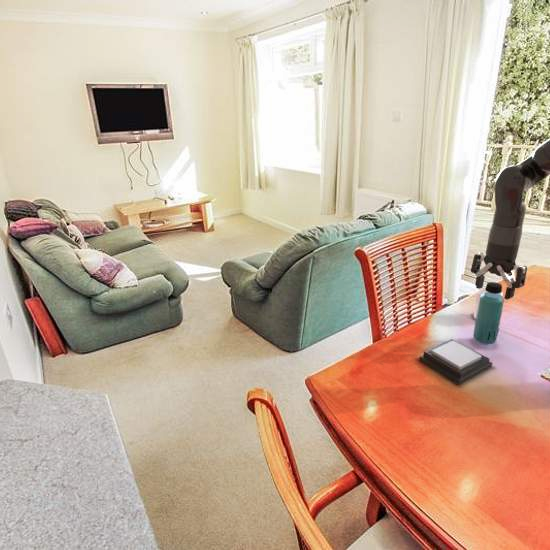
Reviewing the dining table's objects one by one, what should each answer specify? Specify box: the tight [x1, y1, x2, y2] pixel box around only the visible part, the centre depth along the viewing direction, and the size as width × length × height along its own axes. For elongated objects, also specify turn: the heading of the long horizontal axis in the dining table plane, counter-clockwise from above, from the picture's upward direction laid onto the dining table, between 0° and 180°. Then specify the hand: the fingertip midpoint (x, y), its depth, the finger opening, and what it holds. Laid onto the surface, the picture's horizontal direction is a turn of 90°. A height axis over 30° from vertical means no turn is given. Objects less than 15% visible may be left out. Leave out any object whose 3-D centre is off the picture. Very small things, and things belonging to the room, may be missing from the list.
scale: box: [418, 338, 493, 386], centre depth 106 cm, size 14×13×3 cm
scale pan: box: [431, 340, 483, 370], centre depth 106 cm, size 9×9×2 cm
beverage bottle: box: [472, 281, 505, 345], centre depth 111 cm, size 6×7×20 cm
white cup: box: [473, 286, 504, 320], centre depth 127 cm, size 8×8×10 cm
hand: (492, 293), depth 108 cm, fingers open, 8 cm apart
